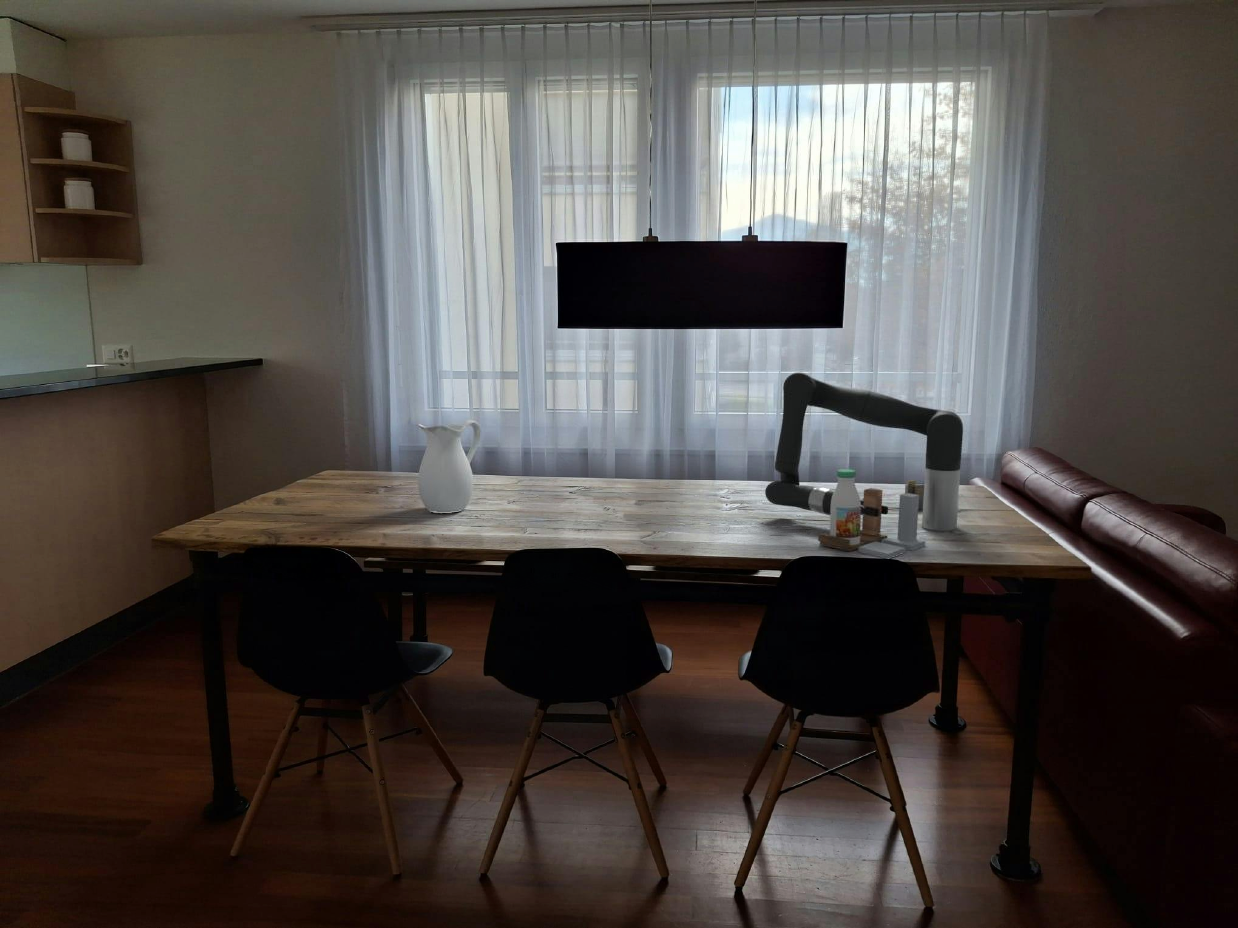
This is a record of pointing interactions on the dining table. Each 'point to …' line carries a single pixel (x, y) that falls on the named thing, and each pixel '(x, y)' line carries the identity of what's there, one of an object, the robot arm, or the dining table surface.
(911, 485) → the ruin model on sheet
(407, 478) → the dining table surface
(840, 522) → the milk bottle
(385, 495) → the dining table surface
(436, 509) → the pitcher
